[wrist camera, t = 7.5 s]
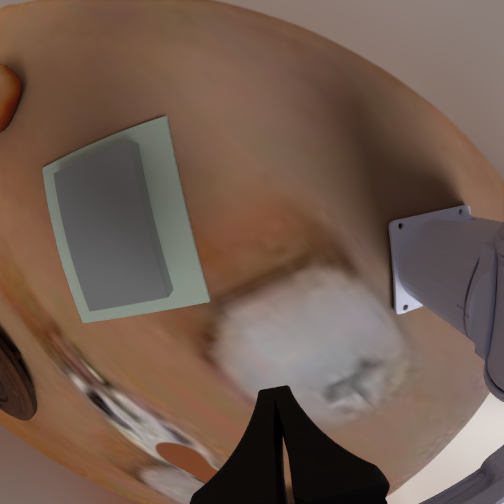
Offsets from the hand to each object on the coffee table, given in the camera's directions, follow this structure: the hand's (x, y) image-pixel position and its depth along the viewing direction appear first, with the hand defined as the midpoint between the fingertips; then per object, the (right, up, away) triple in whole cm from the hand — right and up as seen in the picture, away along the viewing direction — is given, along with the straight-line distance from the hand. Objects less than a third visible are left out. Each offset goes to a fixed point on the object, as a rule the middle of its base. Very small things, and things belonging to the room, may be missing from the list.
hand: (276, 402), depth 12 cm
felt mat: (-12, +9, +8) cm, 17 cm away
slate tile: (-8, +9, +7) cm, 14 cm away
